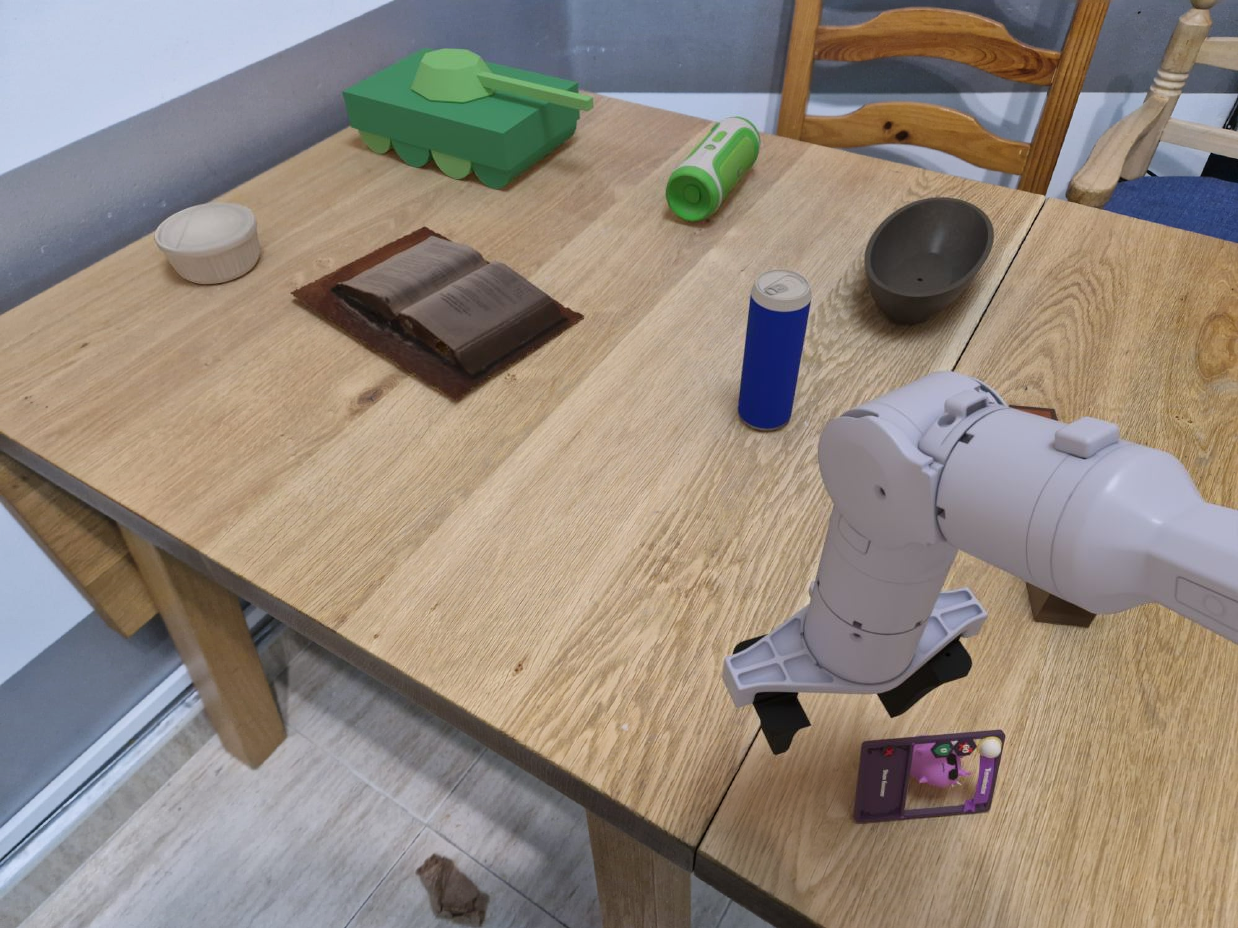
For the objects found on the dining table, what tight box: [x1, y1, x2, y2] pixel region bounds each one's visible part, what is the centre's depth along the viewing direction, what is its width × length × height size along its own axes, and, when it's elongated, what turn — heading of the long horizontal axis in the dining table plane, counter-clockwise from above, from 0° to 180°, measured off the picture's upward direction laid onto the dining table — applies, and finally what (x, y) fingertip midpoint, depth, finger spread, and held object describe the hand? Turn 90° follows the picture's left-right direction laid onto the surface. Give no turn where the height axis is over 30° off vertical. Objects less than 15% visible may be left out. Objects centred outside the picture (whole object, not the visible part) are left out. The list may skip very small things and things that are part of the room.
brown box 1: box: [1007, 404, 1059, 421], centre depth 78 cm, size 4×4×4 cm
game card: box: [852, 729, 1006, 824], centre depth 56 cm, size 7×5×9 cm
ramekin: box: [153, 201, 261, 285], centre depth 102 cm, size 11×11×5 cm
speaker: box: [665, 116, 761, 223], centre depth 111 cm, size 18×7×8 cm, turn 154°
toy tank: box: [342, 47, 595, 190], centre depth 119 cm, size 18×12×35 cm
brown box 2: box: [1026, 582, 1098, 628], centre depth 66 cm, size 4×4×4 cm
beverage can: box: [737, 268, 813, 431], centre depth 78 cm, size 5×5×15 cm
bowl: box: [863, 196, 995, 326], centre depth 96 cm, size 12×22×6 cm, turn 148°
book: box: [290, 226, 585, 401], centre depth 96 cm, size 20×28×4 cm
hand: (830, 720), depth 52 cm, fingers open, 7 cm apart
